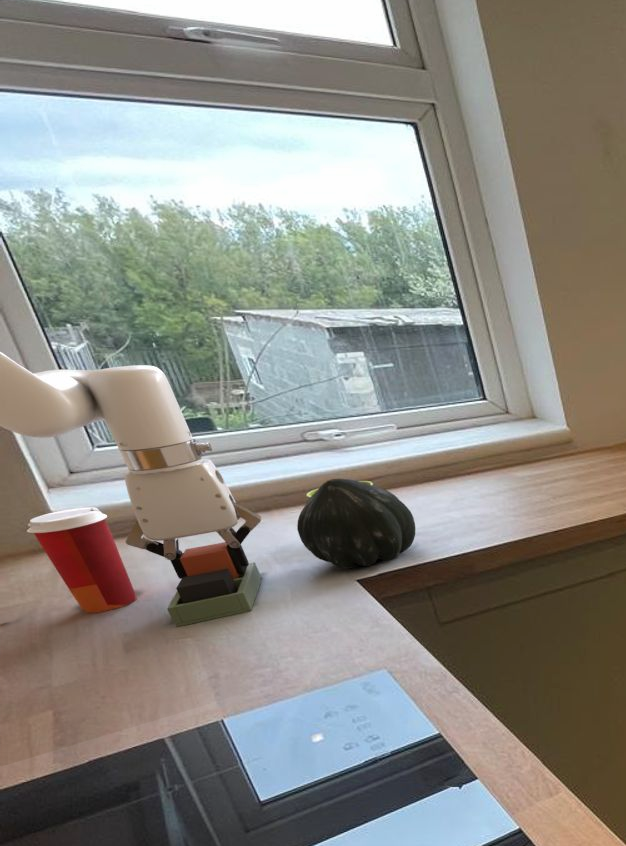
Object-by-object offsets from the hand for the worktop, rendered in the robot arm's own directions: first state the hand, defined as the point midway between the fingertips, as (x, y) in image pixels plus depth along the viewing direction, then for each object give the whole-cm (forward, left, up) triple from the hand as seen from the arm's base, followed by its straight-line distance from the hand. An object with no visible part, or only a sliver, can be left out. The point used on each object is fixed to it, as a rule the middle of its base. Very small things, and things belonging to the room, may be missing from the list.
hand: (216, 575), depth 120 cm
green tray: (0, -4, -3) cm, 5 cm away
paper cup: (-14, +7, -3) cm, 15 cm away
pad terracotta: (0, 0, 0) cm, 0 cm away
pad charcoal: (0, -7, -3) cm, 8 cm away
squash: (+18, +2, -3) cm, 18 cm away
